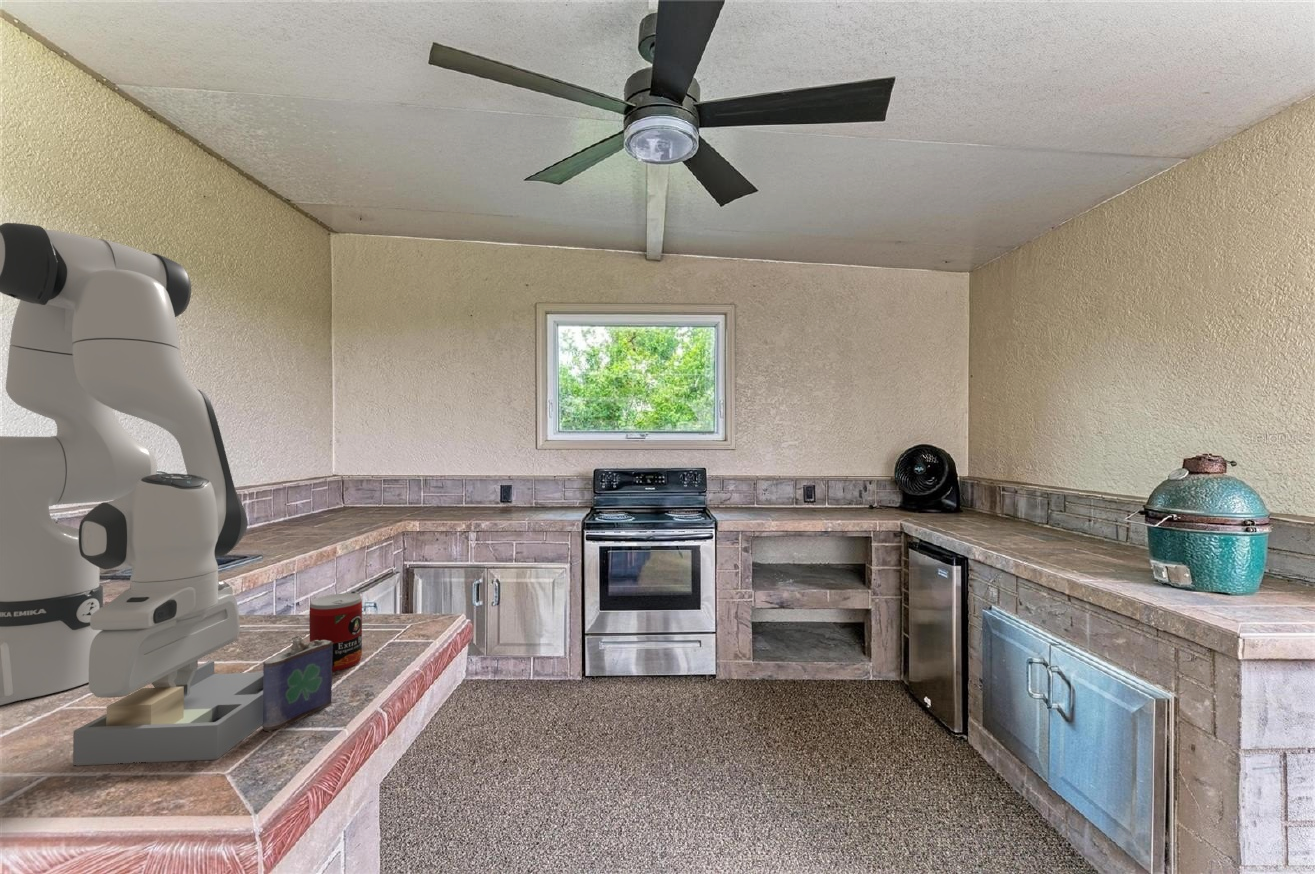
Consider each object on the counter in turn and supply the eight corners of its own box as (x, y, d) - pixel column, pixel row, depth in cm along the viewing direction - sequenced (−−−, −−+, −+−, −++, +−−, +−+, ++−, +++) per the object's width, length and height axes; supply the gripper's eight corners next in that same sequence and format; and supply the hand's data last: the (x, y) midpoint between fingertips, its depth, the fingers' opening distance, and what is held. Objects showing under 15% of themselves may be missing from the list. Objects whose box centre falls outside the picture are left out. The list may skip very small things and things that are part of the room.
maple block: (106, 740, 66) (106, 706, 66) (142, 719, 71) (142, 688, 71) (150, 738, 66) (151, 704, 66) (183, 717, 71) (183, 686, 71)
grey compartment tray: (73, 765, 64) (73, 731, 64) (208, 687, 85) (208, 661, 85) (217, 759, 65) (217, 725, 65) (316, 683, 86) (316, 657, 86)
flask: (270, 734, 71) (270, 650, 71) (255, 729, 72) (256, 647, 72) (336, 703, 79) (336, 628, 79) (322, 699, 80) (323, 625, 81)
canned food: (339, 674, 89) (339, 606, 89) (297, 671, 91) (297, 604, 91) (372, 656, 97) (372, 594, 97) (333, 653, 98) (333, 592, 98)
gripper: (208, 578, 83) (208, 670, 83) (75, 620, 63) (74, 743, 62) (252, 577, 84) (252, 668, 83) (134, 619, 63) (133, 740, 63)
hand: (175, 701), depth 73 cm, fingers closed
